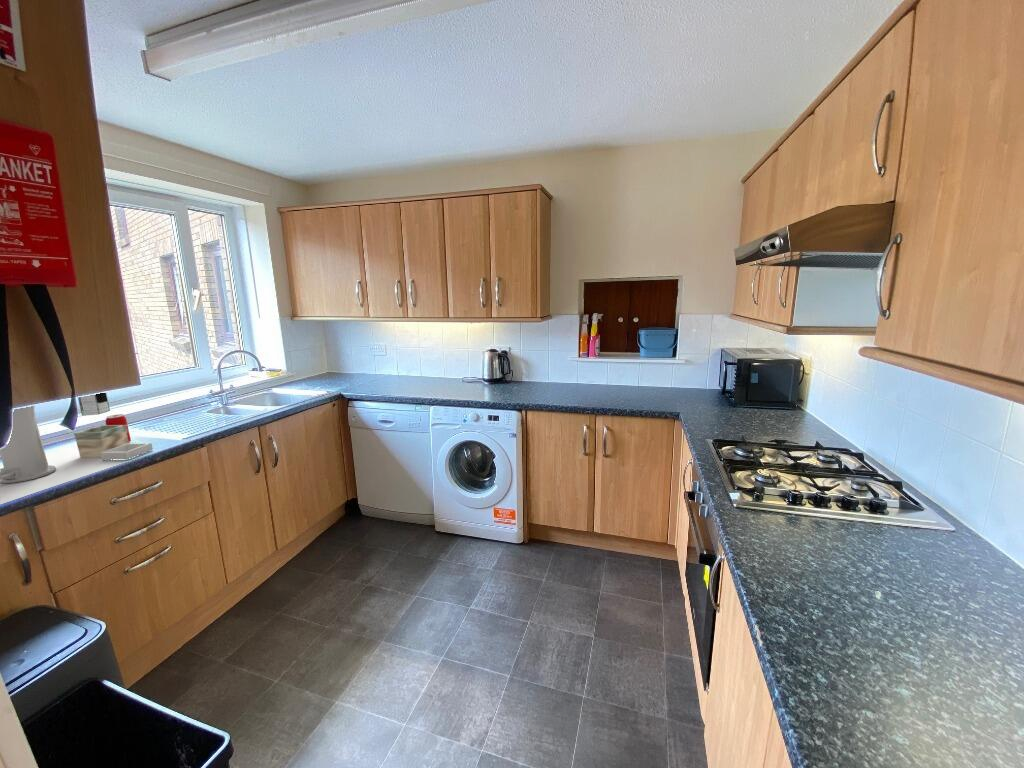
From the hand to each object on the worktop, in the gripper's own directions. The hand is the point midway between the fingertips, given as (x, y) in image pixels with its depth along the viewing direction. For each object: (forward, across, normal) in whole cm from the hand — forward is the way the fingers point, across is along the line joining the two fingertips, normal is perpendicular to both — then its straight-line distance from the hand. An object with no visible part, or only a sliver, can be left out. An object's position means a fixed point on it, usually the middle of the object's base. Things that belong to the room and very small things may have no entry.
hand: (93, 402), depth 160 cm
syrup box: (+5, 0, 0) cm, 5 cm away
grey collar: (+20, -13, +4) cm, 24 cm away
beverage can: (+20, +4, -10) cm, 23 cm away
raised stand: (+20, 0, 0) cm, 20 cm away
